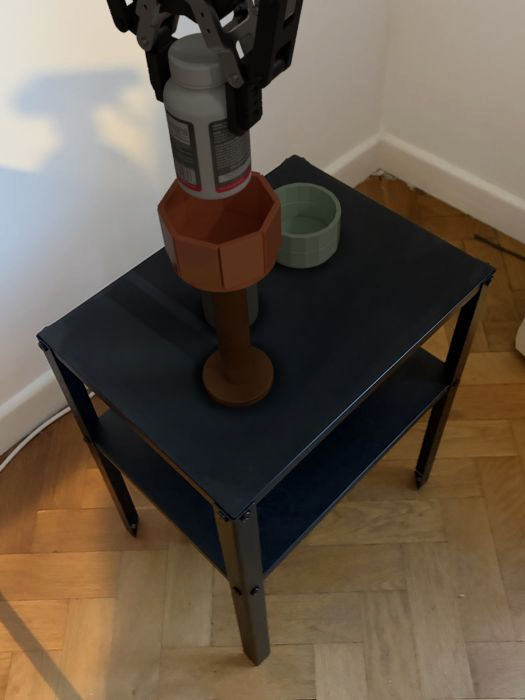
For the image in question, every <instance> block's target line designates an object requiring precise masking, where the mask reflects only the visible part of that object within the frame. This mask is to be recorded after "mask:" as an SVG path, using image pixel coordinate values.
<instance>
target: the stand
mask: <svg viewBox="0 0 525 700" xmlns="http://www.w3.org/2000/svg"><path fill="white" fill-rule="evenodd" d="M211 296H212V303H213V310H214V317H215V324H216V329H215V331H216V338H217V343H218V345H217V346H218V349H216V350H215V351H213V353H212V354H210V355H209V357H208V358H207V359H206V361H205V363H204V365H203V368H202V382H203V387H204V390H205V392H206V393H207V395H208V396H209V397H210V398H211V399H212V400H213V401H215V402H216V403H218V404H219V405H222V406H225V407H229V408H246V407H249V406H252V405H255V404H257V403H259V402H260V401H262V400H263V399H264V398H265V397H266V396H267V395H268V393H269V392H270V391H271V389H272V387H273V383H274V365H273V363H272V361H271V359H270V358H269V356H268V355H267V354H266V353H265V352H264V351H263V350H262V349H260V348H258V347H256V346H253V345H252V342H251V330H250V326H249V317H248V305H247V293H246V288H244V289H240V290H236V291H231V292H211Z"/></svg>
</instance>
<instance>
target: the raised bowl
mask: <svg viewBox="0 0 525 700" xmlns="http://www.w3.org/2000/svg"><path fill="white" fill-rule="evenodd" d="M268 181H269V180H267V178H266V177H265V175H264V174H262V173H261V172H258V171H254V170H252V174H251V178H250V180H249V182H248V183H247V185H246V186H245V187H244V188H243V189H242V190H241V191H240V192H238V193H236V194H234V195H232V196H229V197H227V198H222V199H216V200H206V199H200V198H196V197H193V196H191V195H190V194H188V193H186V192H185V191H184V190H183V189H182V188H181V187H180V185H179V184H178V181H177V177H176V178H175V179H174V180H173V182H171V185H170V186H169V188H168V189H167V191H165V193H164V195H163V197H162V198H161V200H160V201H159V203H157V205H156V207H157V209H156V210H157V216H158V221H159V225H160V230H161V235H162V241H163V244H164V250H165V252H166V254H167V256H168V258H169V259H170V264H171V266H172V269H173V271H174V272H175V274H176V275H177V276H178V277H179V278H180V279H181V280H182V281H183V282H185V283H186V284H188V285H190V286H191V287H194V288H196V289H199V290H200V289H201V290H205V291H211V292H231V291H236V290H240V289H244V288H246V287H249V286H251V285H253V284H255V283H257V284H258V282H259V281H262V280H263V279H264V278H265V277H266V276H267V275H268V274H269V273H270V272H271V271H272V269H273V268H274V266H275V264H276V260H277V256H278V251H279V249H280V247H281V245H282V237H281V200H280V199H279V197H278V196H277V194H276V193H275V192H274V190H275V189H274V188H273V187H272V186H271V184H270V182H268Z"/></svg>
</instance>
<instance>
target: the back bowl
mask: <svg viewBox="0 0 525 700" xmlns="http://www.w3.org/2000/svg"><path fill="white" fill-rule="evenodd" d="M273 190H274V192H275V193H276V194H277V196H278V197H279V199H280V200H281V237H282V245H281V247H280V249H279V251H278V256H277V260H276V262H277V263H278V264H279V265H282V266H284V267H287V268H292V269H309V268H314V267H317V266H319V265H322V264H323V263H326V262H327V261H328V260H329V259H331V257H332V256H333V255H334V254H335V252H337V250H338V246H339V243H340V234H341V222H342V221H341V219H342V209H341V202H340V201H339V199H338V197H336V195H335V194H334V193H333V192H332V191H331V190H329V189H327V188H325V187H324V186H322V185H319V184H314V183H311V182H293V183H287V184H284V185H282V186H280V187H277V188H275V189H273ZM276 262H275V263H276Z"/></svg>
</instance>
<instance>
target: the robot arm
mask: <svg viewBox="0 0 525 700" xmlns="http://www.w3.org/2000/svg"><path fill="white" fill-rule="evenodd" d="M105 1H106V3H107V7H108V10H109V13H110V16H111V17H112V18H111V19H112V21H113V24H114V27H115V28H116V29H117V30H118V31H119V32H121V33H123V34H126V33H127V32H128V31H129V32H130V33H131V34H133V35H134V36H135V37H136V38H135V39H136V42H137V44H138V46H139V47H140V49H142V50H143V51H144V56H145V60H146V61H145V62H146V67H147V73H148V77H149V83H150V85H151V87H152V90H153V91H154V94H155V95H154V96H155V100H156V101H158V102H159V103H162V104H164V102H163V91H164V87H165V84H166V82H167V81H168V79H169V78H170V77H171V72H170V67H169V59H168V51H169V48H170V47H171V45H172V44H173V43H174V42H175V41H176V40H178V39H179V38H178V37H175V36H173V35H174V34H175V33H176V32H177V29H178V24H179V21H180V16H181V17H186V18H187V19H188V20H190V21H191V22H193V23H195V24H196V25H198V28H199V31H200V33H202V36H203V38H204V41H205V43H206V46H207V48H208V49H209V50H211V51H215V52H216V53H217V56H218V58H219V61H220V63H221V66H222V68H223V71H224V73H225V76H226V79H227V81H228V82H226V83H225V96H226V107H227V119H228V130H229V132H230V133H232V134H234V135H236V136H239V137H241V136H242V135H243V134H245V133H246V132H247V131H248V130H249V129H250V130H251V129H252V128H253V127H254V126H255V125H256V124H258V123H259V121H260V120H262V118H263V115H264V112H263V111H264V110H263V109H264V107H263V89H266V88H267V87H268V86H269V85H270V84H271V83H272V81H274V80H275V79H276V78H277V77H279V75H281V74H282V73H284V72H286V71H287V70H288V69H289V68H290V67H291V66H292V63H293V57H294V52H295V46H296V41H297V36H298V30H299V26H300V19H301V15H302V11H303V5H304V0H131V1H132V2H130V3H129V4H127V0H105ZM232 12H233V15H232V18H231V20H230V21H229V22H227V23H226V24H225V25H223V26H222V24H221V21H222V20H223V19H224V18H226V17H227V16H228V15H230V14H231V13H232ZM237 43H238V44H239V46H240V49H241V52H242V54H243V55H242V57H240V54H239V51H238V49H237Z"/></svg>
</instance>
